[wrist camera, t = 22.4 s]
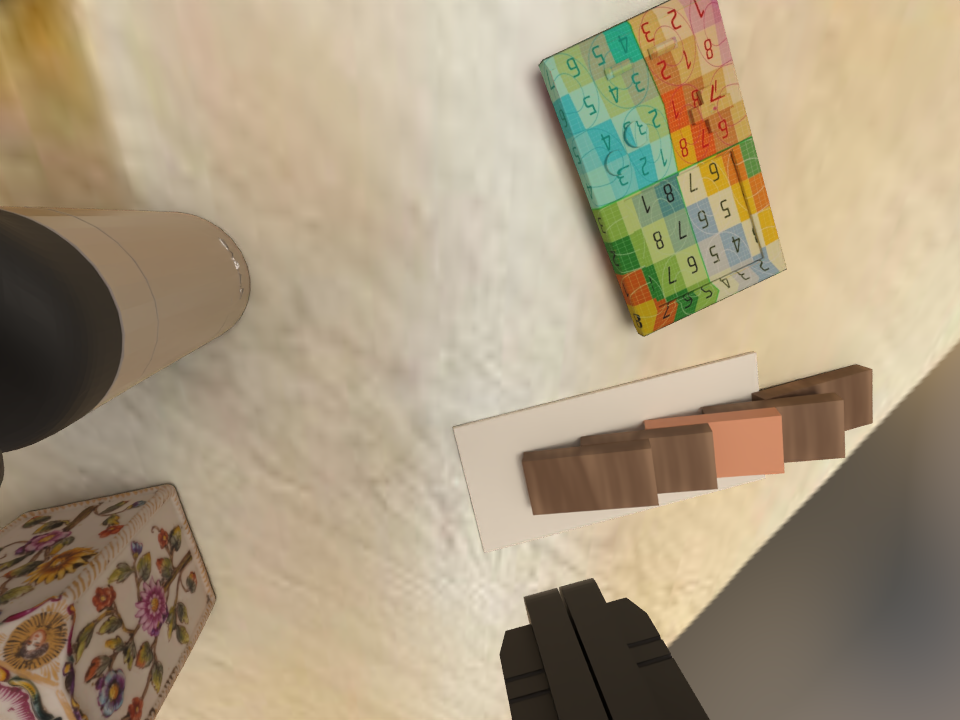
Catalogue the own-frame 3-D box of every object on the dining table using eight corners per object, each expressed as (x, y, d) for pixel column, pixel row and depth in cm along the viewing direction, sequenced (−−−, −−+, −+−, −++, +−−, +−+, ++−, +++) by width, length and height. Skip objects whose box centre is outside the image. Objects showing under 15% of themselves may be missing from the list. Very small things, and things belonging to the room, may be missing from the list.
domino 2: (589, 499, 44) (718, 489, 41) (580, 445, 42) (712, 431, 40) (589, 488, 45) (713, 478, 43) (580, 436, 44) (707, 423, 41)
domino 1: (533, 515, 43) (659, 505, 41) (521, 461, 42) (651, 448, 40) (534, 504, 45) (656, 494, 42) (523, 452, 44) (648, 438, 41)
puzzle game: (718, -27, 32) (795, 270, 38) (681, 3, 37) (755, 265, 43) (546, 55, 32) (649, 339, 38) (530, 75, 37) (624, 326, 43)
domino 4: (710, 468, 44) (845, 457, 42) (704, 414, 43) (843, 400, 40) (706, 459, 46) (836, 448, 43) (701, 407, 44) (835, 392, 42)
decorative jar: (221, 601, 44) (97, 844, 27) (78, 632, 44) (-143, 904, 26) (175, 475, 41) (1, 661, 24) (20, 506, 40) (-276, 722, 23)
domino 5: (767, 453, 45) (872, 422, 46) (764, 399, 43) (872, 369, 44) (755, 445, 46) (856, 416, 47) (751, 393, 45) (856, 364, 46)
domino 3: (652, 482, 44) (784, 473, 42) (645, 428, 43) (781, 415, 40) (650, 472, 46) (777, 462, 43) (644, 420, 44) (775, 407, 42)
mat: (483, 550, 46) (484, 553, 46) (452, 426, 43) (453, 428, 42) (762, 476, 48) (765, 478, 47) (753, 351, 44) (756, 352, 44)
